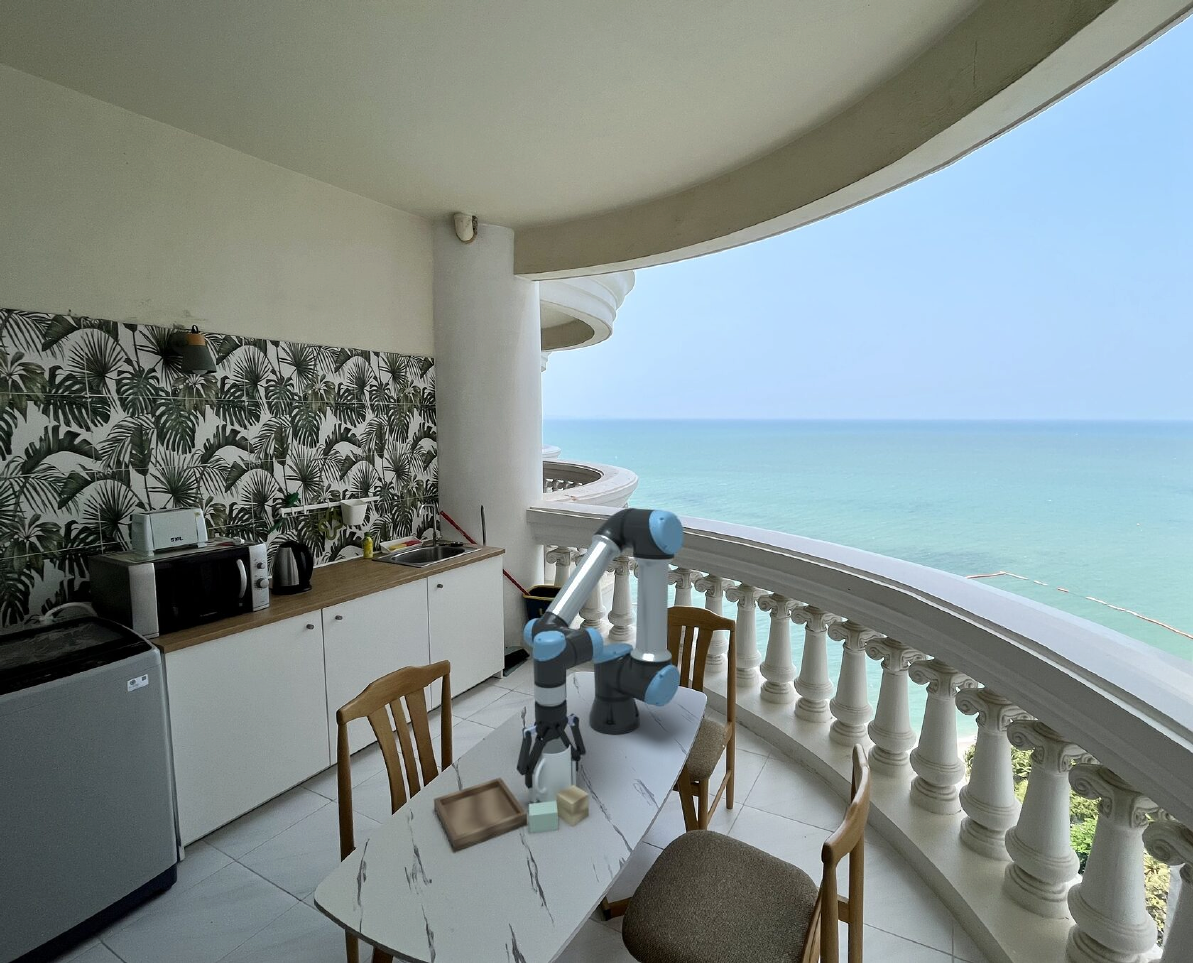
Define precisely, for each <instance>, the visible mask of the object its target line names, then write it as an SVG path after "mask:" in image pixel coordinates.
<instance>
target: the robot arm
mask: <svg viewBox="0 0 1193 963" xmlns="http://www.w3.org/2000/svg"><path fill="white" fill-rule="evenodd" d="M684 533H685V532H684V527H683V525H682V522H681V520H680V519H679V518H678V516H677V515H676V514H675V513H673V512H671V511H667V510H662V509H652V508H651V509H650V508H649V509H648V508H647V509H646V508H645V509H644V508H636V507H635V508H633V507H630V508H629V507H628V508H624V509H621V510H619V511H616V512H615V513H614V514H612V515H610V517H608V518H607V519H606V520H605V521H604V522H603V523H602V524H601V525H600V526H599V528H597V530H596V531H595V533H594V534H593V535H592V537H591V542H592V543H591V545H590V546H589V547H588V549H587V550H586V551H585V554H584V555H583V556H582V558H581V560H580V561H579V562H578V564H577V565H576V566H575V568H574V569H573V571H572V572H571V574H570V575H569V577H568V578H567V580H566V581H565V583H564V585H563V586H562V587H561V588H560V590H559V591H558V593H557V594H556V596H555V597H554V599H553V600H552V601H551V603H550V604H549V606H547V609H546V610H545V612H544V613H543V615H542V616H541V617H540V618H539V617H538V618H532V619H531V620H529V621H528V622H527V624H526V625H525V626H524V630H523V639H524V642H525V643H526V645H528V646H529V647H531V648H532V658H533V659H532V660H533V664H532V666H533V687H534V690H533V691H534V692H533V693H534V695H533V696H534V724H533V725H532V726H531V727H528V728H527V726H525V727H523V728H521V729H522V730H521V732H522V741H521V746H520V750H519V755H518V760H517V765H516V770H517V772H518V773H519V774H520V776H524V784H525V787H526V788H527V789H528V798H529V799H530V800H531V802H532V804H534V803H538V799H537V791H536V788H535V775H536V772H535V769H536V768H537V762H538V760H539V757H540V755H541V753H542V750H543V748H544V747H545V746H546V744H547V742H549V741H551V740H553V739H559V737H560V738H561V740H562V742H563V743H564V745H565V746H566V748H567V749H568V747H569V745H571V786H572V785H574V786H576V787H577V772H579V771H580V770H579V768H580V767H579V762H580V761H581V759H582V757H581V756H585V755H586V753H587V751H586V747H585V744H584V740H583V737H582V734H581V730H580V729H581V728H580V726H579V725H580V718H579V717H578V716H577V715H576V714H575V713H571V714H570V715H568V703H567V702H568V701H567V671H568V670H570V669H573V668H574V667H578V666H580V665H583V664H586V663H587V662H591V661H592V660H593V671H594V699H593V703H592V706H591V709H590V711H589V725H590V727H591V728H592V729H594V730H595V731H597V732H599V733H603V734H608V735H621V734H622V735H623V734H627V733H630V732H632V731H635V730H636V729H637V728H638V727H639V726H640V723H641V720H640V719H641V715H640V714H641V713H640V711H639V709H638V706H637V702H636V700H638V701H641V702H642V703H645V704H647V705H648V706H649V705H650V706H651V705H652V706H655V707H659V708H660V707H664V706H665V705H666V706H667V705H668V704H669V703H670V702H671V701H672V700H673V698H674V697H675V695H676V693H677V692H678V690H679V686H680V681H681V674H680V670H679V668H678V667H677V666H676V665H674V664H672V662H673V661H672V659H673V656H672V653H671V652H670V651H669V650H668V649H667V648H668V647H667V646H668V645H667V638H668V637H667V636H668V605H669V604H668V603H669V601H668V599H669V598H668V597H669V568H670V567H669V566H670V564H671V563H672V562H673V561H674V560H675V554H677V553H678V552H679V551H680V550H681V549H682V545H683V543H684V539H685V538H684V535H685V534H684ZM627 549H632V557H633V559H634V560H635V561H636V562H637V589H636V590H637V594H636V595H637V597H636V600H637V601H636V627H635V628H636V630H635V631H636V632H635V633H636V634H635V635H636V636H635V637H636V638H635V647H633V645H632V644H630V643H625V642H615V643H614V642H613V643H608V644H605V645H604V638H603V637H602V636H603V635H602V634H601V633H600V631H599V630H597V629H595V628H594V627H588V628H583V629H581V630H578V629H575V628H571V627H570V626H571V625H572V623H573V622H574V620H575V618H576V617H577V616H578V614H579V612H580V610H581V609H582V608H583V606H584V605H585V603H586V601H587V600H588V598H589V597H590V596H591V594H592V592H593V591H594V589H595V587H597V584H598V583H599V582H600V580H601V579H602V577H603V576H604V574H605V572H606V571H607V569H608V568H609V566H610V565H611V563H612V562H613V560H614V559H615V558H619V557H620V556H621V554H622V553H623V552H624V551H625V550H627ZM568 725H569V726H570V731H571V733H572V738H573V741H574V743H575V744H574V745H575V747H574V745H573V743H572V742H571V741H570V738H569V737H568V735H567V733H566V731H565V729H566V728H567V726H568ZM535 733H536V736H535V739H534V743H533V738H534V735H535ZM532 743H533V744H532ZM532 745H533V746H532Z"/></svg>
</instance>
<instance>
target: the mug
mask: <svg viewBox="0 0 1193 963" xmlns="http://www.w3.org/2000/svg"><path fill="white" fill-rule="evenodd" d="M535 774H536V775H535V788H536V791H537V801H539V803H542V802H551V801H556V804H557V794H558V793H560V792H562V791H563V790H565V789H567V788H568V787H570V786H571V745H569V747H568V749H567V748H566V746H565V745H564V743H563V742H562V740H561V738H560V737H559V739H553V740H551V741H549V742H547V744H546V746H545V747H544V748H543V750H542V753H541V755H540V757H539V760H538V762H537V765H536V771H535Z"/></svg>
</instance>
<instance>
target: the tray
mask: <svg viewBox="0 0 1193 963" xmlns="http://www.w3.org/2000/svg"><path fill="white" fill-rule="evenodd" d="M433 806H434V809H433V810H434V812H435V814H436V816H437V818H438V820H439V823H440V824H441V826H442V829H443V830H444V831H443V832H444V834H445V836H446V837H447V839H448V842H449V843H450V846H451V848H452V850H453V853H456V852H459V851H461V850H464V849H466V848H470V847H473V846H475V845H479V844H480V843H483V842H486V841H488V840H490V839H494V838H495V837H498V836H501V835H504V834H506V833H509V832H511V831H514V830H516V829H519V828H522V827H524V826H527V825H528V814H527V811H525V809H524V808H523V806H522V804H521V803H520V802H519V800H517V798H516V796H515V795H514V794H513V793H512V791H511V790H510V788H509V787H508V785H507V784H506V783H505V781H504V780H503V778H502V777H498V778H494V779H492V780H489V781H485V782H482V783H479V784H476V785H474V786H470V787H467V788H464V789H461V790H458V791H457V790H456V791H455V792H452V793H448V794H446V795H442V796H439V797H436V798H434V799H433Z"/></svg>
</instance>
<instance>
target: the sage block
mask: <svg viewBox="0 0 1193 963" xmlns="http://www.w3.org/2000/svg"><path fill="white" fill-rule="evenodd" d="M528 819H529V820H528V822H529V833H530V834H535V833H542V832H550V831H558V830H559V820H558V819H559V817H558V811H557V804H556V801H551V802H542V803H541V802H536V803H529V804H528Z"/></svg>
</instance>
